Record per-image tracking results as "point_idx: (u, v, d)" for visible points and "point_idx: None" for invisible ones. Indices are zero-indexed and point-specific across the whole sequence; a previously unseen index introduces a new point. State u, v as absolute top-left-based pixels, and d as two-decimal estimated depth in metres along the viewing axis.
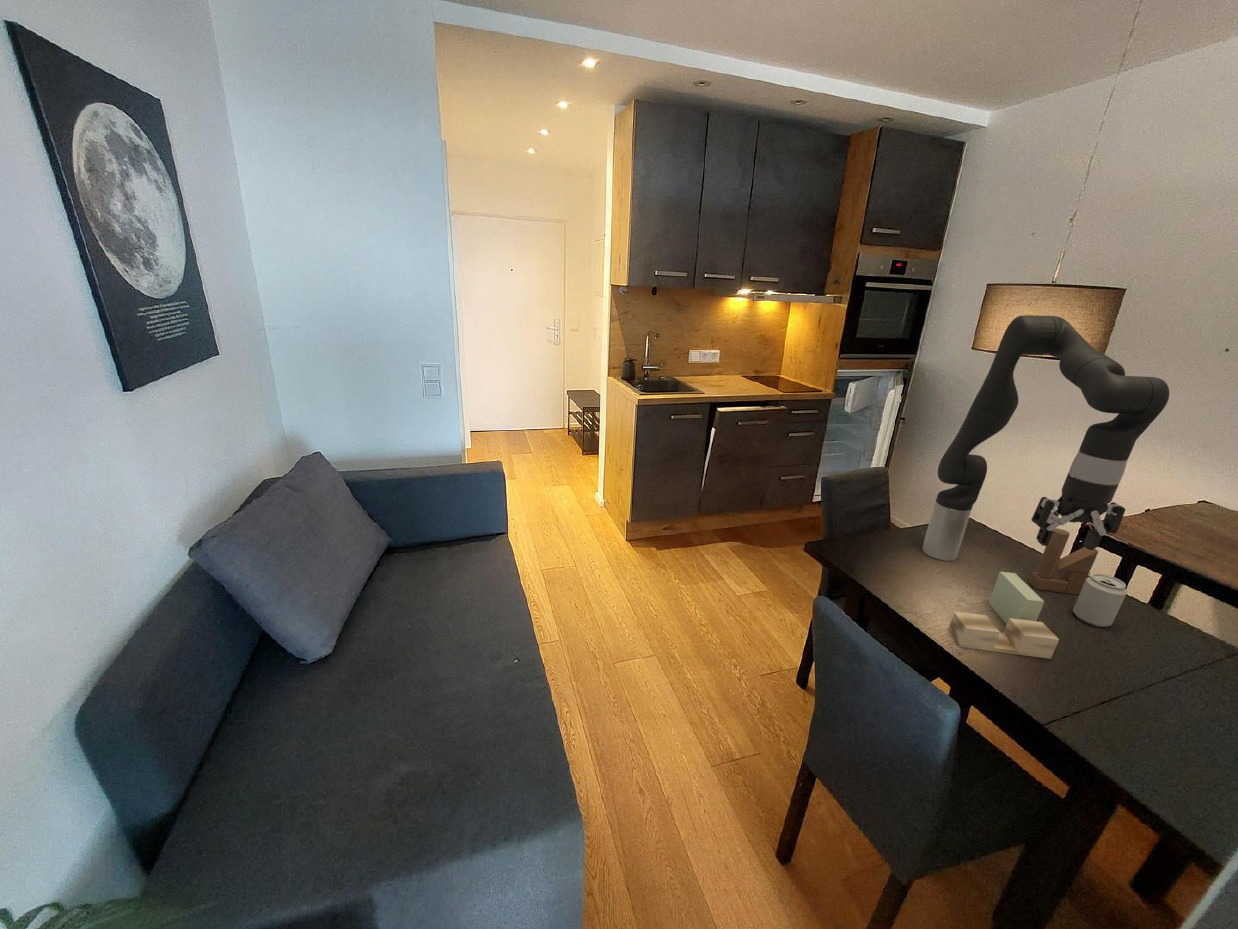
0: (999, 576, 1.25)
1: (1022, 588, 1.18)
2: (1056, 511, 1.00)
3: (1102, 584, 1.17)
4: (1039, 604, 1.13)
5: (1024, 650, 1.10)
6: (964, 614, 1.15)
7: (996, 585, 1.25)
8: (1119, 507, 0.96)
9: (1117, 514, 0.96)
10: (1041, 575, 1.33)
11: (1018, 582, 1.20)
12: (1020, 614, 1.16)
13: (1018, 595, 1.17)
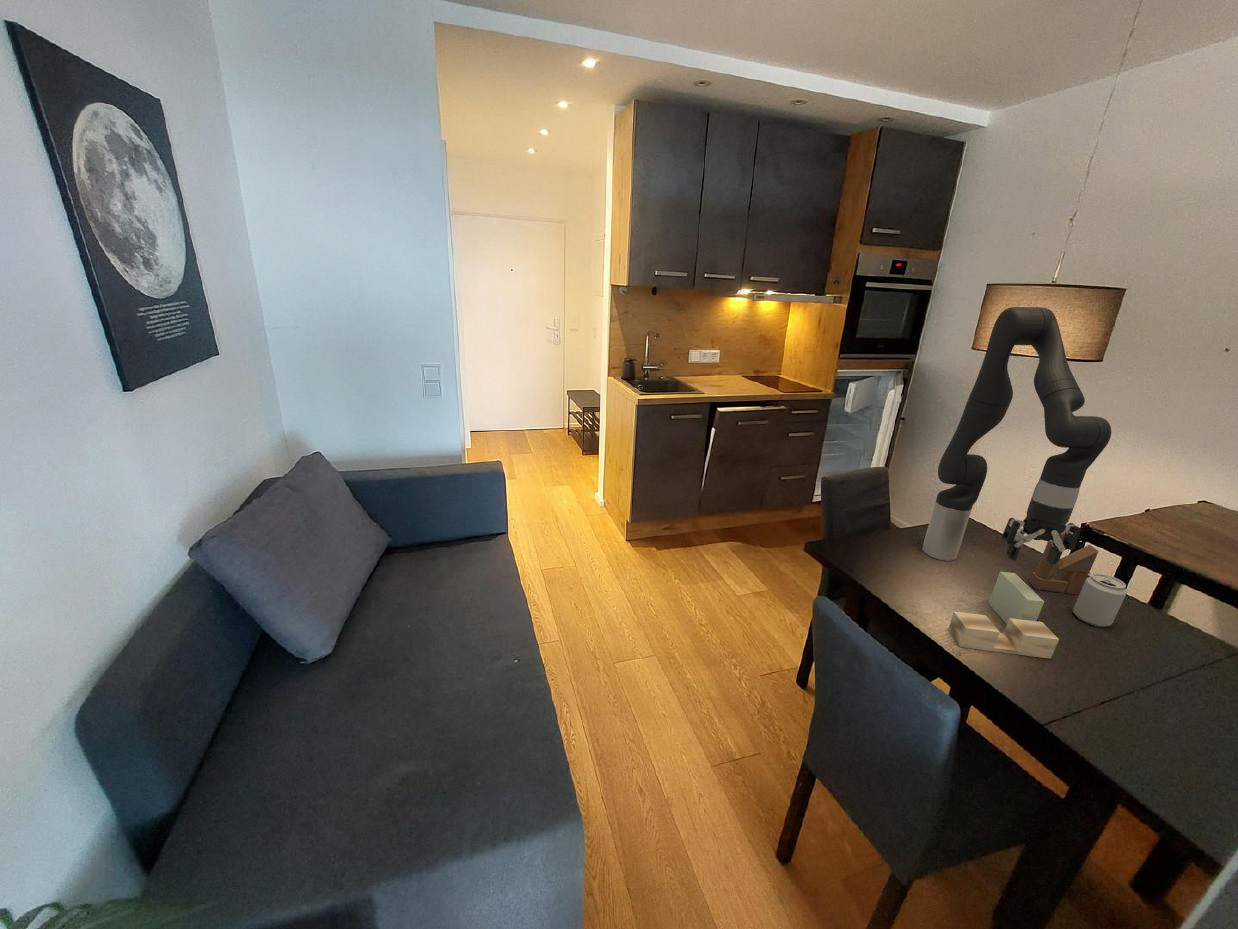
0: (999, 576, 1.25)
1: (1022, 588, 1.18)
2: (1022, 530, 1.15)
3: (1102, 584, 1.17)
4: (1039, 604, 1.13)
5: (1024, 650, 1.10)
6: (964, 614, 1.15)
7: (996, 585, 1.25)
8: (1075, 527, 1.11)
9: (1074, 533, 1.11)
10: (1041, 575, 1.33)
11: (1018, 582, 1.20)
12: (1020, 614, 1.16)
13: (1018, 595, 1.17)
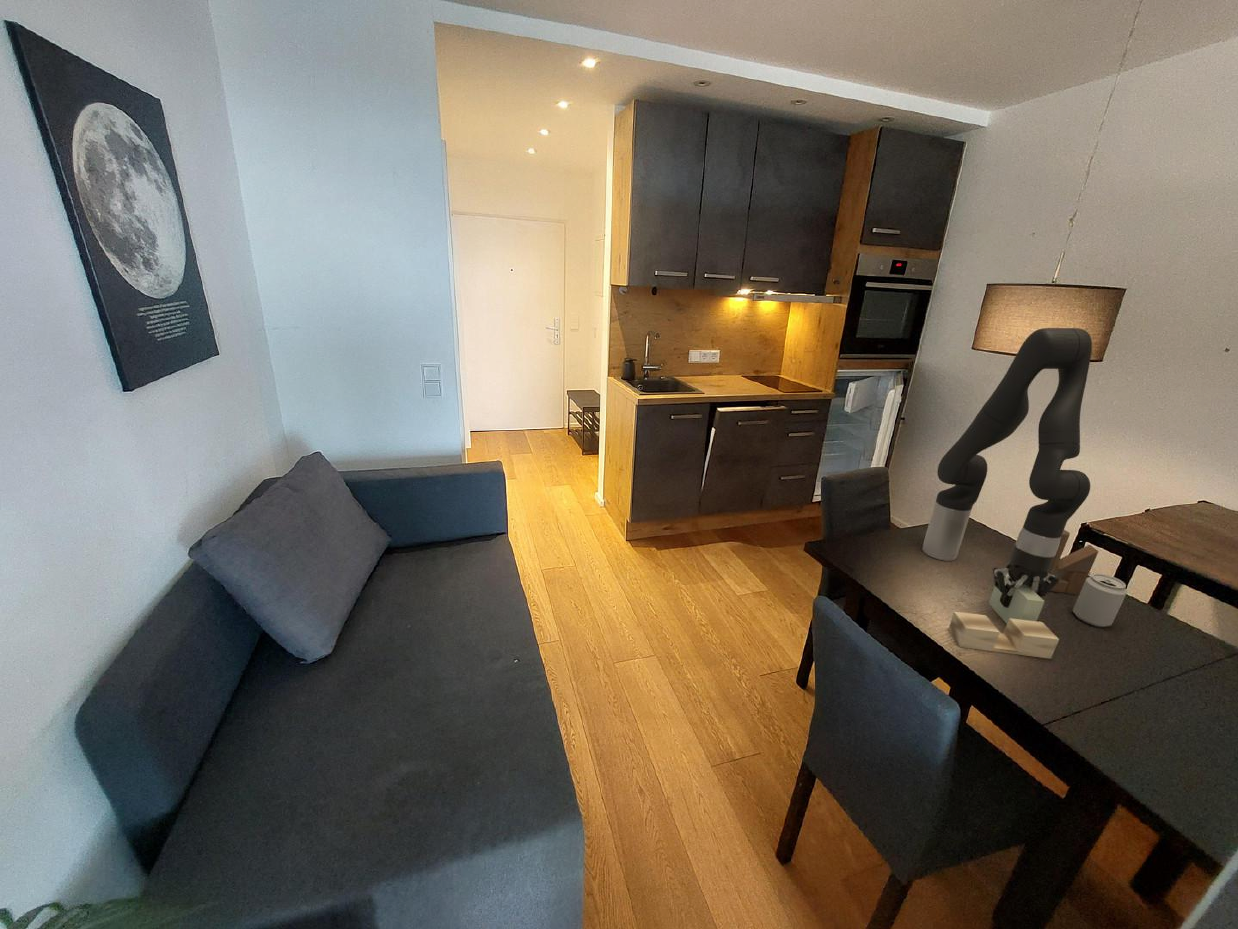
0: None
1: (1022, 588, 1.18)
2: (1010, 577, 1.20)
3: (1102, 584, 1.17)
4: (1039, 603, 1.13)
5: (1024, 650, 1.10)
6: (964, 614, 1.15)
7: None
8: (1055, 578, 1.16)
9: (1051, 582, 1.16)
10: None
11: None
12: (1020, 614, 1.16)
13: (1018, 594, 1.17)
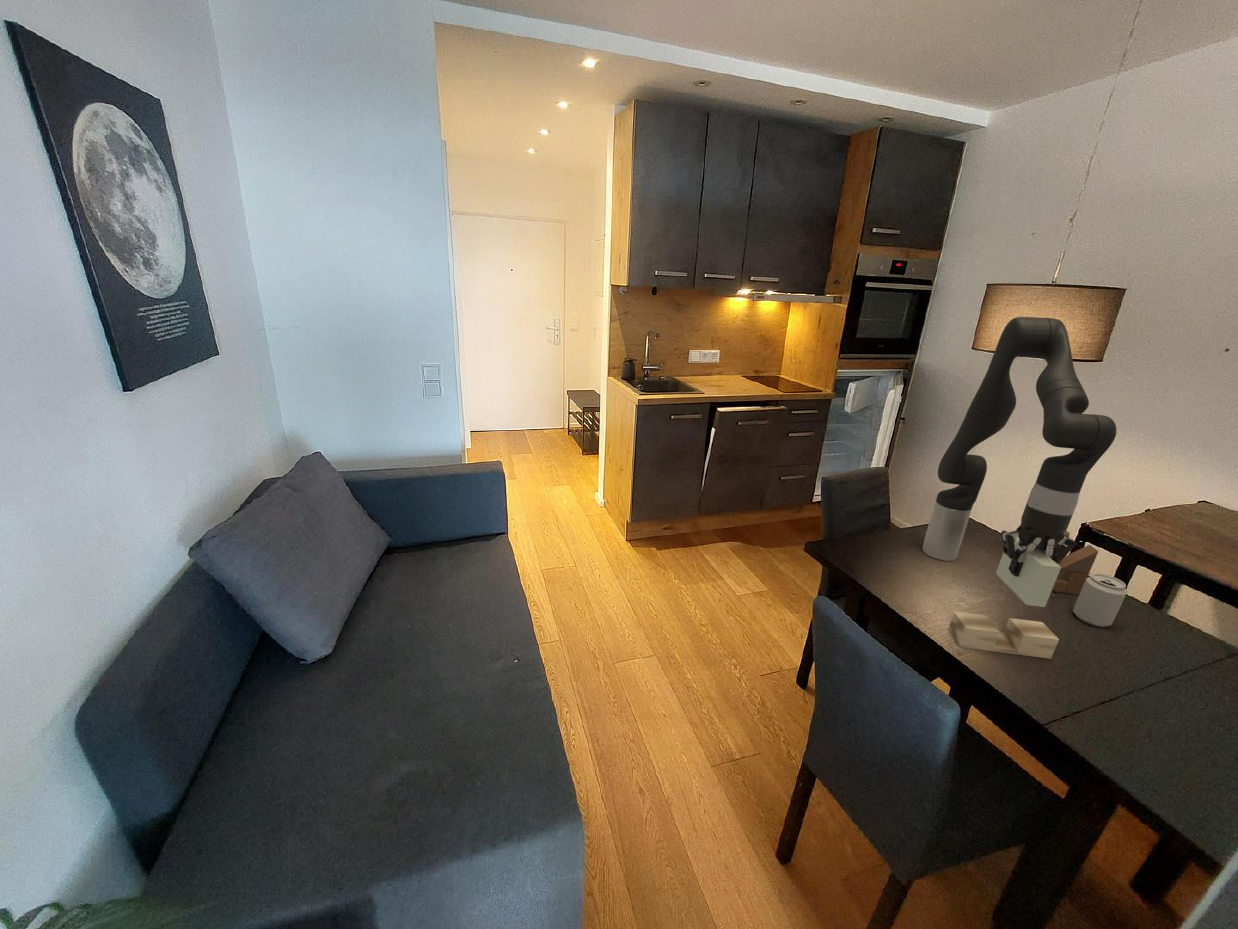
0: None
1: (1035, 553, 1.03)
2: (1020, 541, 1.05)
3: (1102, 584, 1.17)
4: (1055, 569, 0.99)
5: (1024, 650, 1.10)
6: (964, 614, 1.15)
7: None
8: (1072, 541, 1.01)
9: (1068, 546, 1.02)
10: None
11: None
12: (1033, 582, 1.01)
13: (1031, 560, 1.02)
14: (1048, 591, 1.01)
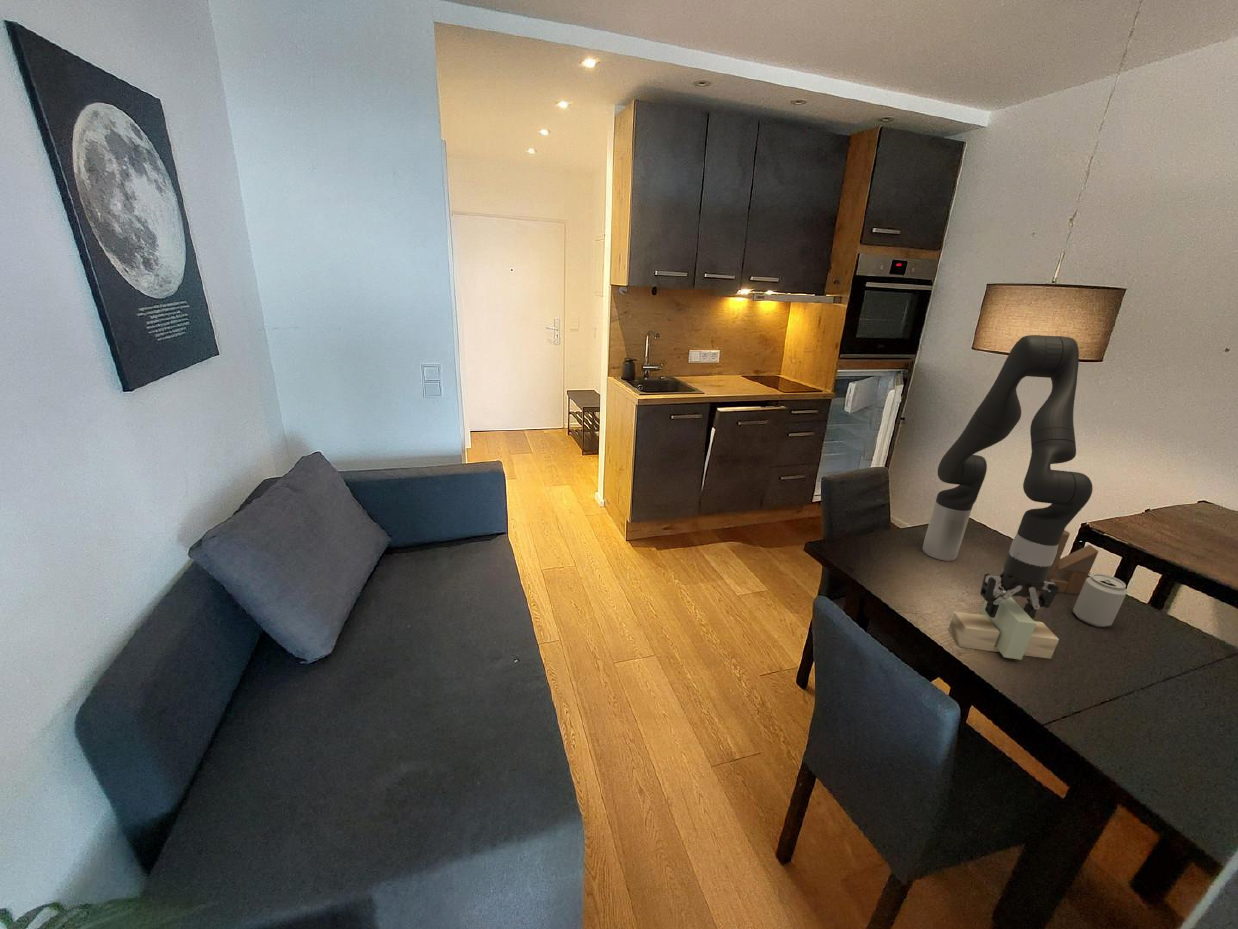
0: None
1: (1013, 608, 1.09)
2: (1000, 585, 1.10)
3: (1102, 584, 1.17)
4: (1031, 626, 1.04)
5: None
6: (964, 614, 1.15)
7: (985, 603, 1.16)
8: (1054, 585, 1.05)
9: (1051, 591, 1.06)
10: None
11: (1009, 601, 1.11)
12: (1010, 637, 1.06)
13: (1008, 615, 1.08)
14: (1024, 645, 1.06)
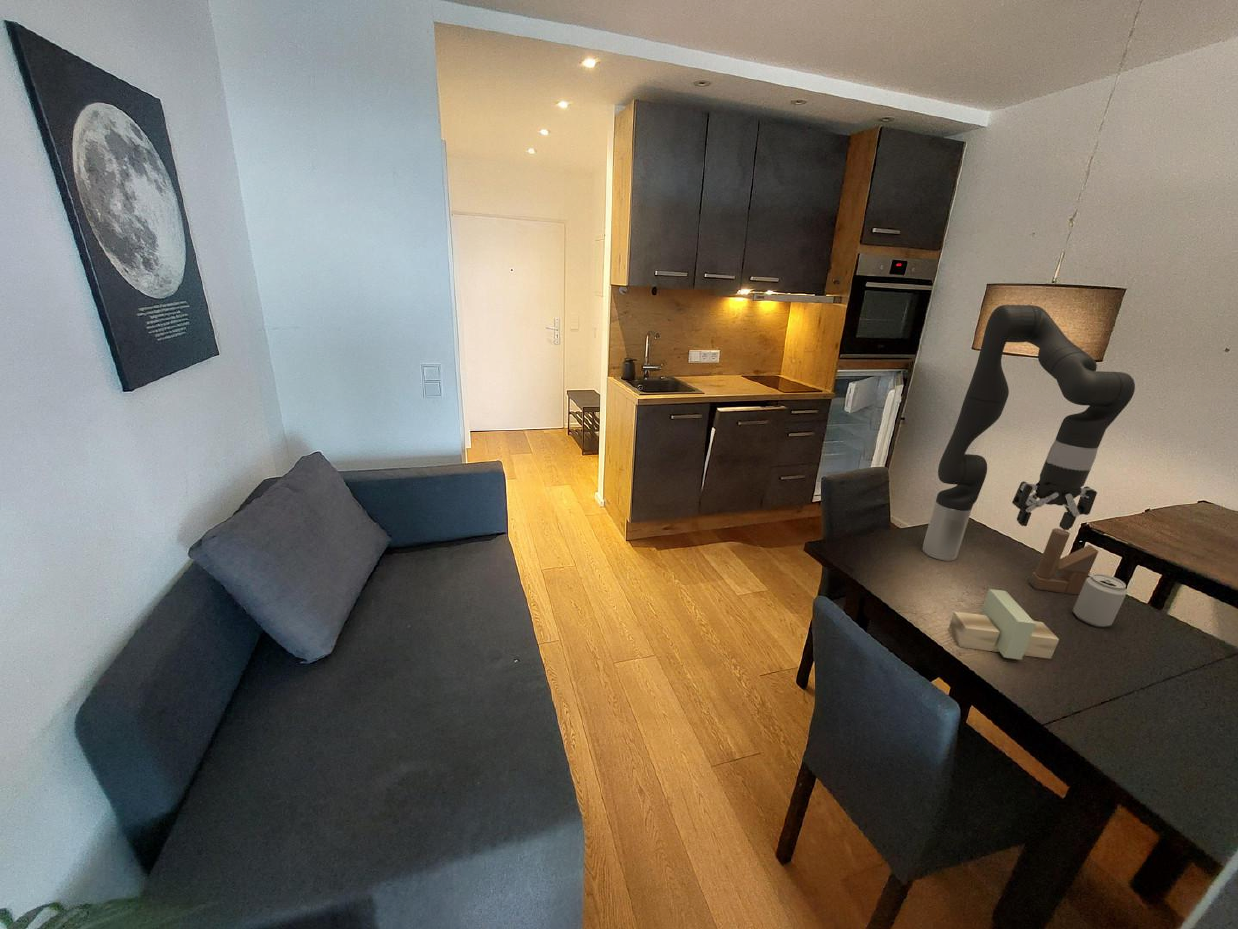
0: (988, 594, 1.15)
1: (1012, 608, 1.09)
2: (1035, 494, 1.10)
3: (1102, 584, 1.17)
4: (1030, 626, 1.04)
5: None
6: (964, 614, 1.15)
7: (985, 603, 1.16)
8: (1091, 491, 1.05)
9: (1089, 497, 1.05)
10: (1041, 575, 1.33)
11: (1008, 601, 1.11)
12: (1010, 637, 1.06)
13: (1008, 615, 1.08)
14: (1024, 645, 1.06)
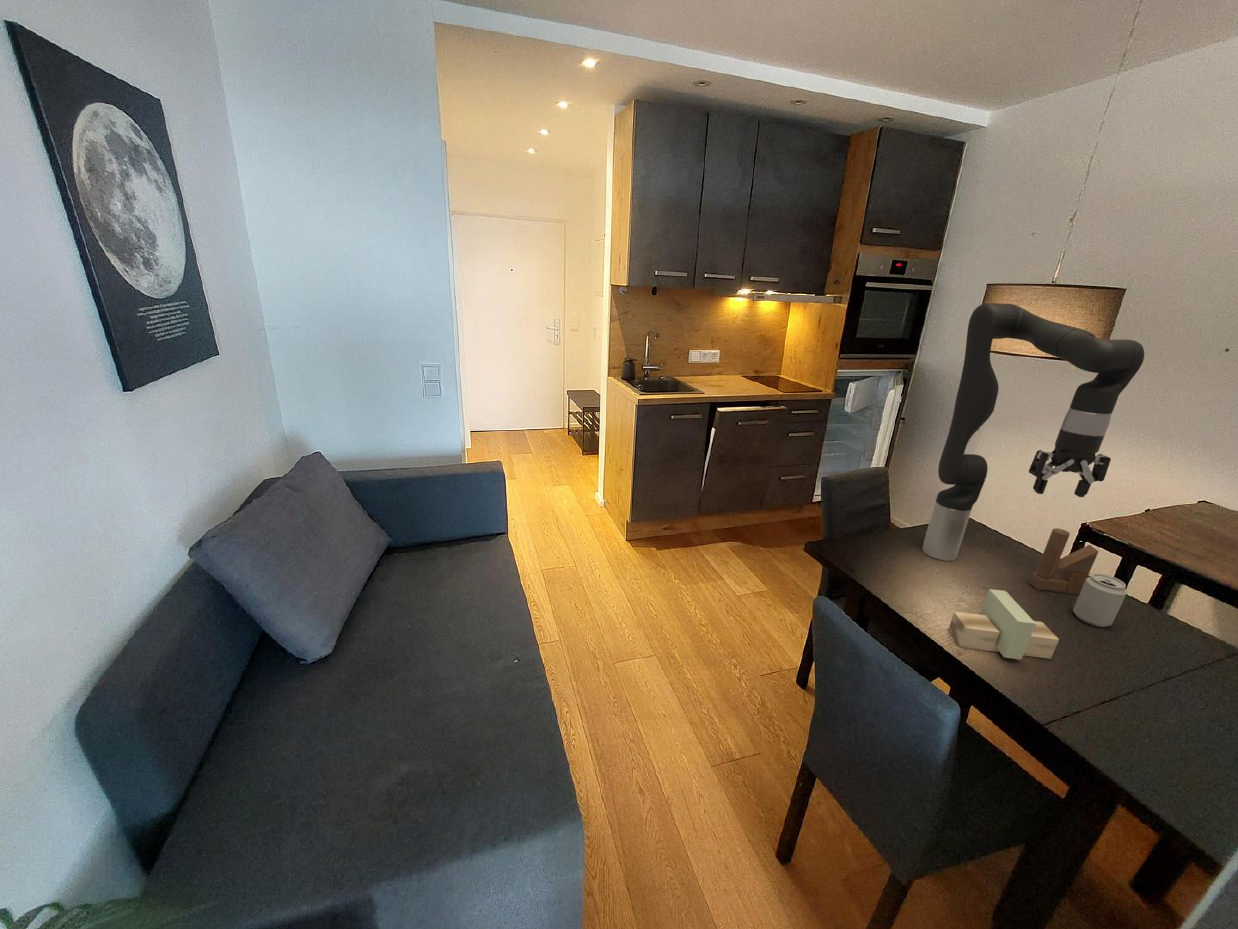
0: (988, 594, 1.15)
1: (1012, 608, 1.09)
2: (1050, 463, 1.13)
3: (1102, 584, 1.17)
4: (1030, 626, 1.04)
5: None
6: (964, 614, 1.15)
7: (985, 603, 1.16)
8: (1105, 457, 1.09)
9: (1103, 463, 1.09)
10: (1041, 575, 1.33)
11: (1008, 601, 1.11)
12: (1010, 637, 1.06)
13: (1008, 615, 1.08)
14: (1024, 645, 1.06)
